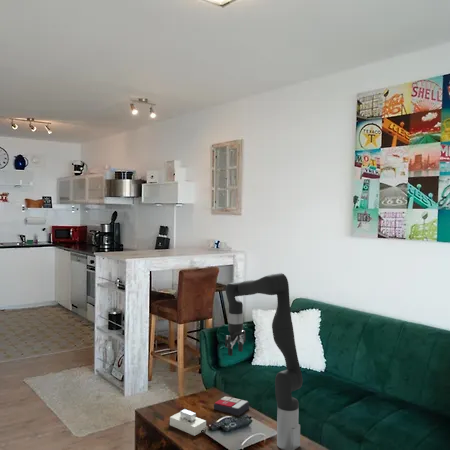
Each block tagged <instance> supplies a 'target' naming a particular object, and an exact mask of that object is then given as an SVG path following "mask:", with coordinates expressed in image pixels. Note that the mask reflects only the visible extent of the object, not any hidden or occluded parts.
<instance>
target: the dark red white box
mask: <svg viewBox="0 0 450 450" xmlns="http://www.w3.org/2000/svg"><path fill="white" fill-rule="evenodd" d="M249 409H250V402H249V401H248V400H244V399H240V398H235V397H230V396H225V395H224V397H221V398H220V399H218V400H217V401H215V402H214V403H213V410H216V411H219V412H223V413H227V414H230V415H233V416H237V415H240V414H241V415H242V414H244V413H245V412H246V411H248V410H249ZM241 415H240V416H241Z"/></svg>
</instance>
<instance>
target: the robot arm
mask: <svg viewBox="0 0 450 450" xmlns="http://www.w3.org/2000/svg"><path fill="white" fill-rule="evenodd" d="M256 294H260V295H267V296H276V297H277V301H276V302H277V306H276V310H275V313H274V316H273V319H272V323H271V330H272V336H273V342H274V344H275V345H276V346H277V348H278V350H279V351H280V352H281V353H282V356H283V357H284V361H285V367H286V369H284V370H281V371H279V372H277V373H276V376H275V377H274V378H275V381H274V387H275V388H274V389H275V401H276V407H277V408H276V409H277V412H276V414H277V415H276V446H277V447H278V448H279V449H281V450H297V449H298V448H299V447H300V446H301V423H300V424H299V410H300V409H299V408H300V407H299V404H300V403H299V400H298V399H297V398H295V397H293V394H292V392H295V391H297V390H300V389H301V388H302V386H303V382H304V380H303V374H302V370H301V366H300V361H299V357H298V352H297V346H296V341H295V332H294V326H293V319H292V313H291V304H290V303H291V302H290V286H289V280H288V277H287V276H286V275H285V273H282V272H279V273H271V274H267V275H264V276H263V277H260V278H258V279H256V280H255V279H249V280H248V279H247V280H243V281H239V282H238V281H237V282H236V281H235V282H229V283H228V284H227V285H226V286H225V295H226V299H227V303H228V317H227V320H228V322H227V324H228V328H227V330H228V332H229V335H225V338H224V347H225V348H227V355H228V356H231V357H232V356H233V347H234V345H236V343H238V344H237V345H238V347H237V348H238V349H237V350H238V352H243V349H244V343H246V341H247V339H246V333H247V332H246V330H244V315H243V312H244V311H243V307H244V304H243V302H242V301H240V300H237V299H236V297H244V296H251V295H252V296H253V295H256Z"/></svg>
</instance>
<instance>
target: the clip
mask: <svg viewBox="0 0 450 450" xmlns="http://www.w3.org/2000/svg"><path fill="white" fill-rule="evenodd" d="M179 412H180V416H181V419H183V420H184V419H188V420H189V422H190V423H192V422H194V421H195V418H196V417H197V414H196V412H193V411H192V410H188V409H186V408H184V409H182V410H180V411H179Z"/></svg>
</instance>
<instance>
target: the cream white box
mask: <svg viewBox="0 0 450 450" xmlns="http://www.w3.org/2000/svg"><path fill="white" fill-rule="evenodd" d="M169 425H170V427H173V428H176V429H178V430H180V431H182V432H185V433H188V434H189V435H191V436H196V435H199V434H200V433H202V432H201V430H202V429H203V428H205V427H206V428H207V420H205V419H202V418H200V417H197V416H196V418H195V421H194V422H192V423H190V422H189V420H188V419H184V420H183V419H181V416H180V411H179V412H177V413H175V414H172V415H171V416H169Z"/></svg>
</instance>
